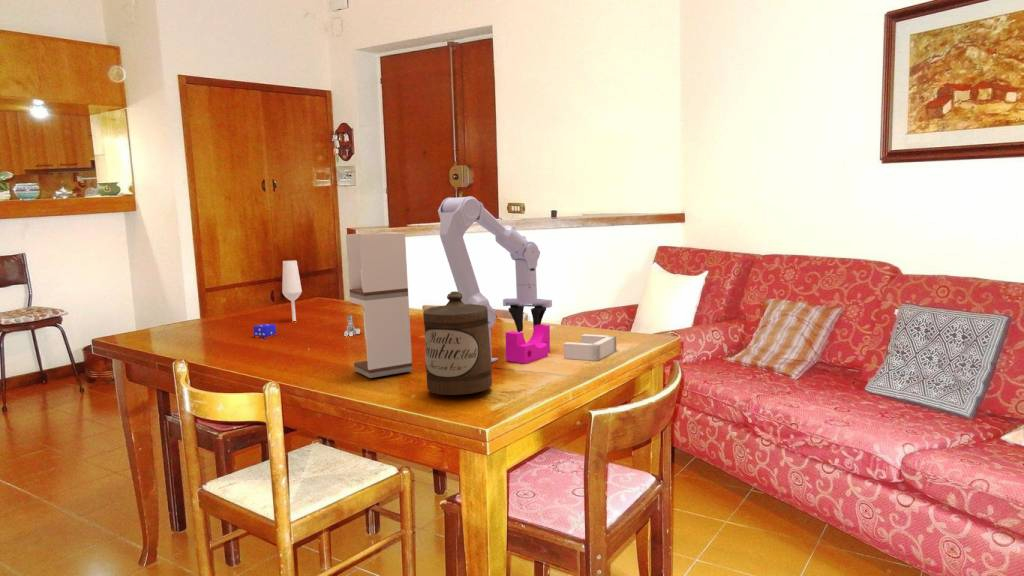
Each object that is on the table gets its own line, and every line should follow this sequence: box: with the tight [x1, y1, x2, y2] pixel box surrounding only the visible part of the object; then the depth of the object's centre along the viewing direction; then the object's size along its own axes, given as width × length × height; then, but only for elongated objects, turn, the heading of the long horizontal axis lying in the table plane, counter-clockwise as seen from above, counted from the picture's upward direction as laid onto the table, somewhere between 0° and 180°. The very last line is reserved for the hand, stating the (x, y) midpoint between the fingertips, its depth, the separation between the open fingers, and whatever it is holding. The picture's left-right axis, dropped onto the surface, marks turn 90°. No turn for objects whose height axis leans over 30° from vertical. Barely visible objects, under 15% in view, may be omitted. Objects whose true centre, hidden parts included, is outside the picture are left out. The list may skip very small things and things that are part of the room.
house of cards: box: [343, 315, 362, 338], centre depth 227 cm, size 9×9×8 cm
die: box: [252, 323, 277, 337], centre depth 229 cm, size 5×5×5 cm
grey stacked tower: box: [345, 231, 413, 379], centre depth 178 cm, size 11×11×35 cm
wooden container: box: [422, 290, 493, 396], centre depth 160 cm, size 15×15×22 cm
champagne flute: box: [281, 259, 303, 322], centre depth 251 cm, size 7×7×24 cm
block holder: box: [563, 333, 617, 362], centre depth 190 cm, size 14×10×4 cm
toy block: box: [505, 324, 551, 365], centre depth 189 cm, size 15×6×8 cm, turn 143°
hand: (528, 331), depth 199 cm, fingers open, 5 cm apart
